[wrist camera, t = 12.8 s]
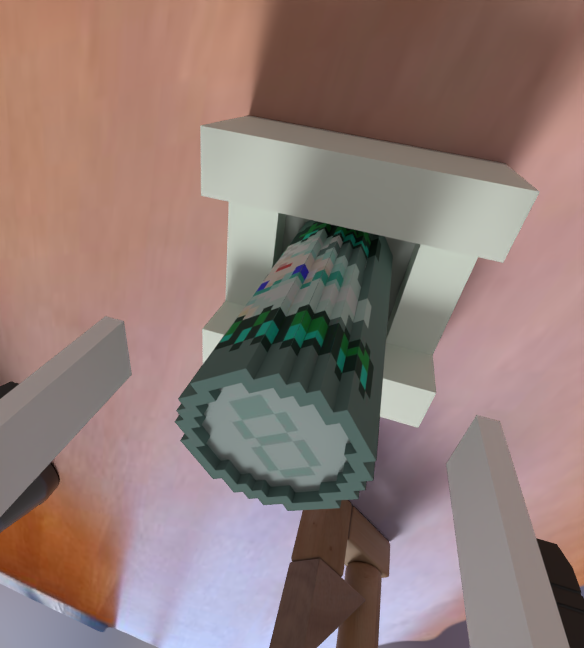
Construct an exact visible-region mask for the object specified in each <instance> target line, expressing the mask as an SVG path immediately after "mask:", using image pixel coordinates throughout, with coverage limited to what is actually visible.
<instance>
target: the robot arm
mask: <svg viewBox="0 0 584 648" xmlns="http://www.w3.org/2000/svg"><path fill="white" fill-rule="evenodd" d="M131 375H132V372H131V366H130V359H129V352H128V346H127V339H126V333H125V326H124V321H122V320H118V319H114V318H110V317H107V316H105V317H104V318H103V319H101V320H100V321H99V322H98V323H96V324H95V325H94V326H92V327H91V328H90V329H89V330H87V331H86V332H85V333H84V334H82V335H81V336H80V337H78V338H77V339H76V340H75V341H73V342H72V343H71V344H70V345H68V346H67V347H66V348H64V349H63V350H62V351H61V352H59V353H58V354H57V355H56V356H54V357H53V358H52V359H51V360H49V361H48V362H47V363H45V364H44V365H43V366H42V367H40V368H39V369H38V370H37V371H35V372H34V373H33V374H31V375H30V376H29V377H28V378H26V379H25V380H24V381H23V382H21V383H20V384H18V383H14V382H9V383H7V384H5V385H3V386H0V533H1V532H2V531H3V530H4V529H6V528H7V527H9V526H10V525H12V524H13V523H14V522H16V521H17V520H19V519H20V518H22V517H23V516H24V515H26V514H27V513H29V512H30V511H31V510H33V509H34V508H35V507H37V506H38V505H40V504H42V503H43V502H44V501H46V500H47V499H48V497H49V496H50V495H51V494H52V493H53V492H54V490H55V489H56V488H57V487H58V485H59V479H58V476H57V473H56V471H55V470H54V468H53V467H52V465H51V464H50V463H51V461H52V460H53V459H54V458H55V457H56V456H57V455H58V454H59V453H60V452H61V451H62V450H63V448H64V447H65V446H66V445H67V444H68V443H69V442H70V441H71V440H72V439H73V438H74V437H75V435H76V434H77V433H78V432H79V431H80V430H81V429H82V428H83V427H84V426H85V425H86V424H87V422H88V421H89V420H90V419H91V418H92V417H93V416H94V415H95V414H96V413H97V412H98V411H99V409H100V408H101V407H102V406H103V405H104V404H105V403H106V402H107V401H108V400H109V399H110V398H111V396H112V395H113V394H114V393H115V392H116V391H117V390H118V389H119V388H120V387H121V386H122V384H123V383H124V382H125V381H126V380H127V379H128V378H129V377H130V376H131ZM446 467H447V474H448V482H449V490H450V497H451V505H452V513H453V520H454V528H455V535H456V543H457V551H458V558H459V566H460V574H461V581H462V589H463V597H464V604H465V612H466V620H467V627H468V635H469V643H470V648H584V598H583V596H581V590H580V587H579V584H578V581H577V579H576V576H575V573H574V570H573V568H572V566H571V565H570V563H569V562H568V560H567V559H566V557H565V556H564V554H563V553H562V551H561V550H560V548H559V547H558V545H557V544H554V543H550V542H547V541H544V540H540V539H537V538H536V536H535V533H534V530H533V527H532V523H531V520H530V517H529V514H528V510H527V507H526V504H525V501H524V497H523V494H522V491H521V488H520V484H519V481H518V478H517V475H516V472H515V468H514V465H513V462H512V459H511V455H510V452H509V449H508V446H507V442H506V439H505V436H504V433H503V429H502V426H501V423H500V421H497V420H493V419H489V418H486V417H482V416H478V415H476V417H475V419H474V420H473V422H472V423H471V425H470V427H469V428H468V430H467V431H466V433H465V435H464V436H463V438H462V439H461V441H460V443H459V444H458V446H457V447H456V449H455V451H454V452H453V454H452V455H451V457H450V459H449V460H448V462H447V463H446Z"/></svg>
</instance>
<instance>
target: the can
mask: <svg viewBox="0 0 584 648" xmlns="http://www.w3.org/2000/svg"><path fill="white" fill-rule="evenodd" d="M392 261H393V255H392V253H391V250H390V248H389V245H388V243H387V240H386V238H385V236H381V235H376V234H372V233H367V232H363V231H358V230H354V229H349V228H345V227H340V226H336V225H331V224H327V223H322V222H318V221H313V220H310V221H308V222H306V223H305V224H304V226H303V227H302V228H301V230H300V231H299V233H297V235H296V236H295V237H294V239H293V240H292V242H291V243H290V244H289V246H288V247H287V249H286V250H285V251H284V253H283V254H282V256H281V257H280V258H279V260H278V261H277V262H276V264H275V265H274V267H273V268H272V269H271V271H270V272H269V274H268V275H267V276H266V278H265V279H264V280H263V282H262V283H261V285H260V286H259V287H258V289H257V290H256V292H255V293H254V294H253V296H252V297H251V298H250V300H249V301H248V303H247V304H246V305H245V307H244V308H243V310H242V311H241V312H240V314H239V315H238V317H237V318H236V319H235V321H234V322H233V323H232V325H231V326H230V328H229V329H228V330H227V332H226V333H225V335H224V336H223V337H222V339H221V340H220V341H219V343H218V344H217V346H216V347H215V348H214V350H213V351H212V353H211V354H210V355H209V357H208V358H207V360H206V361H205V362H204V364H203V365H202V366H201V368H200V369H199V371H198V372H197V373H196V375H195V376H194V378H193V379H192V380H191V382H190V383H189V384H188V386H187V387H186V389H185V390H184V391H183V393H182V394H181V396H180V397H179V398H178V399H179V401H180V402H181V405H180V406H179V408H178V409H177V410H176V411H177V412H178V413H179V414H180V415H179V416H178V418H177V419H176V421H175V423H176V424H177V425H178V426H179V427H180V429H181V430H182V431H183V432H184V433H185V434H184V435H183V437H182V439H181V440H180V441H181V442H182V443H183V444H184V445H185V447H186V448H187V449H188V450H189V451H190V452H191V454H192V455H193V456H194V457H195V458H196V459H197V461H198V462H199V463H200V464H201V465H202V466H203V468H204V469H205V470H206V471H207V472H208V474H209V475H210V476H211V477H212V478H213V479H218V478H222V479H223V480H224V481H225V482H226V484H227V485H228V486H229V487H230V488H231V490H232V491H233V492H244V494H245V495H246V496H247V497H248V499H252V498H258V499H259V500H260V501H261V503H262V504H263V505H272V504H283V505H284V507H285V508H286V509H287V510H288V511H295V510H314V509H333V508H340V506H341V500H352V499H358V498H359V491H360V490H366V482H367V481H373V479H374V467H375V461H376V458H377V446H378V433H379V421H380V409H381V396H382V384H383V372H384V359H385V347H386V335H387V322H388V310H389V298H390V285H391V273H392Z"/></svg>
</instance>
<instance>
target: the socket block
mask: <svg viewBox="0 0 584 648" xmlns="http://www.w3.org/2000/svg"><path fill="white" fill-rule="evenodd" d="M538 194H539V191H538V190H537V189H536V188H535V187H533V186H532V185H531V184H530V183H528V182H527V181H526V180H525V179H524V178H522V177H521V176H520V175H519V174H517V173H516V172H515V171H514V170H513V169H511V168H510V167H509V166H508V165H507V164H505V163H500V162H495V161H489V160H484V159H479V158H473V157H468V156H462V155H457V154H452V153H446V152H441V151H436V150H430V149H425V148H420V147H414V146H409V145H404V144H398V143H393V142H388V141H382V140H377V139H372V138H366V137H361V136H356V135H350V134H345V133H340V132H334V131H329V130H324V129H318V128H313V127H308V126H302V125H297V124H292V123H286V122H281V121H276V120H270V119H265V118H260V117H254V116H249V115H248V116H244V117H239V118H234V119H229V120H225V121H220V122H215V123H210V124H206V125H201V196H205V197H210V198H214V199H219V200H223V201H228V202H229V213H228V242H227V272H226V301H225V302H224V303H223V305H222V306H221V307H220V308H219V309H218V311H217V312H216V313H215V314H214V316H213V317H212V318H211V319H210V320H209V322H208V323H207V324H206V325H205V326H204V328H203V329H202V333H203V364H204V362H205V361H206V360H207V358H208V357H209V355H210V354H211V353H212V351H213V350H214V348H215V347H216V346H217V344H218V343H219V341H220V340H221V339H222V337H223V336H224V335H225V333H226V332H227V330H228V329H229V328H230V326H231V325H232V323H233V322H234V321H235V319H236V318H237V317H238V315H239V314H240V312H241V311H242V310H243V308H244V307H245V305H246V304H247V303H248V301H249V300H250V298H251V297H252V296H253V294H254V293H255V292H256V290H257V289H258V287H259V286H260V285H261V283H262V282H263V280H264V279H265V278H266V276H267V275H268V274H269V272H270V271H271V269H272V268H273V267H274V265H275V264H276V262H277V261H278V260H279V258H280V257H281V256H282V254H283V253H284V251H285V250H286V249H287V247H288V246H289V244H290V243H291V242H292V240H293V239H294V237H295V236H296V235H297V233H299V231H300V230H301V228H302V227H303V226H304V224H305V223H306V222H308V221H310V220H313V221H318V222H322V223H327V224H331V225H336V226H340V227H345V228H349V229H354V230H358V231H363V232H367V233H372V234H376V235H381V236H385V238H386V240H387V243H388V245H389V248H390V250H391V253H392V255H393V261H392V273H391V285H390V298H389V310H388V322H387V335H386V347H385V359H384V372H383V384H382V396H381V409H380V417H382V418H386V419H389V420H393V421H396V422H400V423H403V424H407V425H410V426H414V427H417V428H418V427H419V425H420V423H421V422H422V420H423V418H424V416H425V414H426V412H427V410H428V408H429V406H430V404H431V402H432V400H433V398H434V396H435V394H436V386H435V376H434V365H433V353H434V351H435V349H436V346H437V344H438V342H439V340H440V338H441V336H442V334H443V331H444V329H445V327H446V325H447V323H448V321H449V319H450V316H451V314H452V312H453V310H454V308H455V306H456V304H457V301H458V299H459V297H460V295H461V293H462V291H463V289H464V286H465V284H466V282H467V280H468V278H469V276H470V274H471V271H472V269H473V267H474V265H475V263H476V261H477V258H478V257H480V258H484V259H489V260H493V261H498V262H502V263H503V262H504V260H505V258H506V256H507V254H508V252H509V250H510V248H511V246H512V244H513V242H514V241H515V239H516V237H517V235H518V233H519V231H520V229H521V227H522V225H523V223H524V221H525V219H526V217H527V215H528V213H529V211H530V209H531V207H532V206H533V204H534V202H535V200H536V198H537V196H538Z"/></svg>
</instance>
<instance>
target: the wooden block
mask: <svg viewBox="0 0 584 648" xmlns="http://www.w3.org/2000/svg"><path fill="white" fill-rule="evenodd" d="M291 558H292V562H290V564H289V568H288V573H287V577H286V581H285V585H284V589H283V593H282V597H281V601H280V606H279V610H278V614H277V618H276V622H275V626H274V630H273V634H272V639H271V643H270V647H269V648H317V647H318V646H319V645H320V644H321V643H322V642H323V641H324V640H325V639H326V638H327V637H328V636H329V635H330V634H332V633H333V632H334V631H335V630H336V629H337V628H338V627H339V628H338V636H337V644H336V648H378V637H379V617H380V598H381V578H385V577H388V576H389V563H390V543H389V541H388V540H387V539H386V538H385V537H384V536H383V535H382V534H381V533H380V532H379V531H378V530H377V529H376V528H375V527H374V526H373V525H372V524H371V523H370V522H369V521H368V520H367V519H366V518H365V517H364V516H363V515H362V514H361V513H360V512H359V511H358V510H357V509H356V508H355V507H353V506H352V505H351V502H350V501H349V500H341V506H340V508H333V509H314V510H303V512H302V516H301V520H300V524H299V528H298V533H297V537H296V541H295V545H294V549H293V553H292V557H291ZM344 564H345V565H346V566H347V567H346V572H345V580H343V579H342V578H341V577H342V575H343V571H344Z"/></svg>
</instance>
